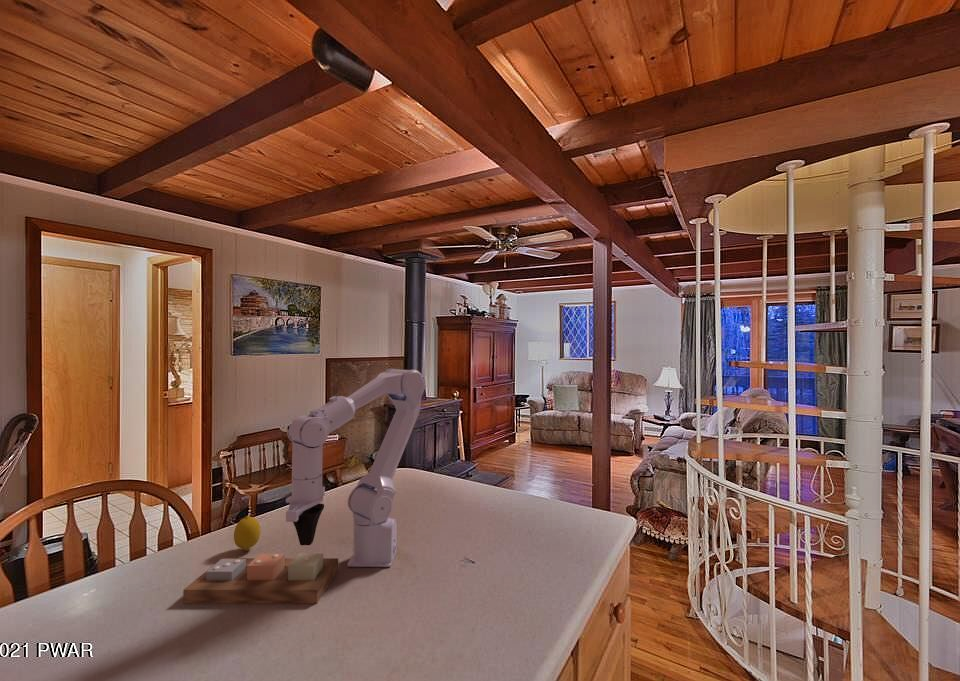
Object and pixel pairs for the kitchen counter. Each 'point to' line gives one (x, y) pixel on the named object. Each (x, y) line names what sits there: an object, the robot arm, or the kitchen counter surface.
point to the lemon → (247, 533)
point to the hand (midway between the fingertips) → (306, 543)
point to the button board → (261, 587)
